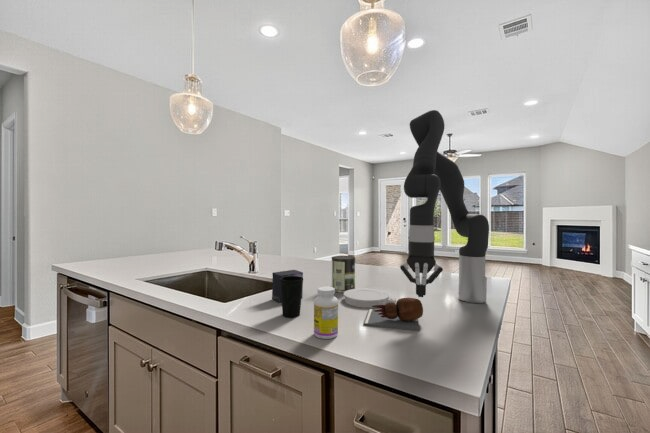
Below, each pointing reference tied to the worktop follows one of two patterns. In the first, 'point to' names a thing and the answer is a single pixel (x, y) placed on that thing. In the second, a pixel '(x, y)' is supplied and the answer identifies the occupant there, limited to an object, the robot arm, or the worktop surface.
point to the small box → (276, 282)
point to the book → (389, 321)
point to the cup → (291, 295)
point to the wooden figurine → (402, 309)
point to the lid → (367, 297)
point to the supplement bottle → (326, 313)
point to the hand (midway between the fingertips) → (420, 296)
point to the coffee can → (343, 273)
